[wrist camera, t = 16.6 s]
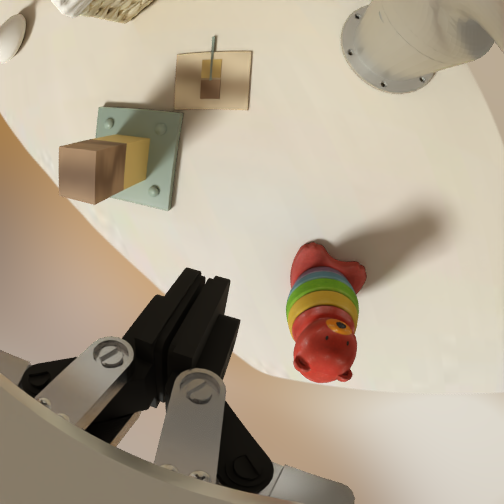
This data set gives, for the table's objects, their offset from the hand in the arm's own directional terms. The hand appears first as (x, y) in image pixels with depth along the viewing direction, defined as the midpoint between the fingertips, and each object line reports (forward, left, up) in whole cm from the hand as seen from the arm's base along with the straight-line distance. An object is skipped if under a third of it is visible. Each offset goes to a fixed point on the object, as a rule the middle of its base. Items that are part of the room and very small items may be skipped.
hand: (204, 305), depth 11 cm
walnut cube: (+2, -21, -22) cm, 31 cm away
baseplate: (+2, -21, -29) cm, 36 cm away
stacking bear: (+14, +10, -29) cm, 34 cm away
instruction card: (-11, -11, -29) cm, 33 cm away
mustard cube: (+2, -21, -28) cm, 35 cm away
